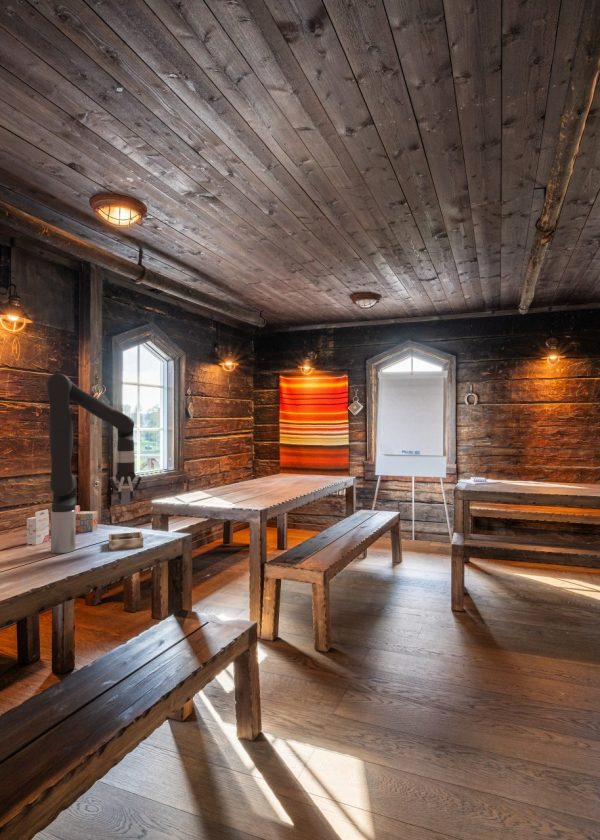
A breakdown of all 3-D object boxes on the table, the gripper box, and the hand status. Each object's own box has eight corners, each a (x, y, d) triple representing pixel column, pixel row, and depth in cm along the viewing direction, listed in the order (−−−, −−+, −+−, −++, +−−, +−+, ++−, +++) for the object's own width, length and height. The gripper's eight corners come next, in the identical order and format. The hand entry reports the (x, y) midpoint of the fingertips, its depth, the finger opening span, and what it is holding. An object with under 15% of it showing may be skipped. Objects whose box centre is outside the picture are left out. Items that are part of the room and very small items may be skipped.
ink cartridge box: (39, 540, 226) (40, 508, 226) (49, 540, 225) (49, 508, 225) (26, 544, 218) (26, 511, 218) (35, 545, 217) (35, 512, 217)
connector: (121, 505, 214) (121, 485, 214) (121, 504, 217) (121, 484, 218) (130, 504, 215) (130, 484, 215) (129, 503, 219) (129, 483, 219)
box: (109, 550, 208) (109, 541, 208) (108, 543, 220) (108, 534, 220) (143, 547, 213) (143, 538, 213) (141, 540, 225) (141, 531, 225)
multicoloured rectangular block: (98, 529, 249) (98, 505, 249) (92, 532, 242) (92, 507, 242) (56, 529, 249) (56, 505, 249) (50, 531, 243) (50, 507, 243)
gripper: (108, 462, 210) (108, 502, 210) (142, 461, 216) (142, 500, 216) (108, 461, 217) (108, 499, 217) (141, 460, 223) (141, 497, 223)
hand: (125, 499), depth 216 cm, fingers closed on connector, 3 cm apart
